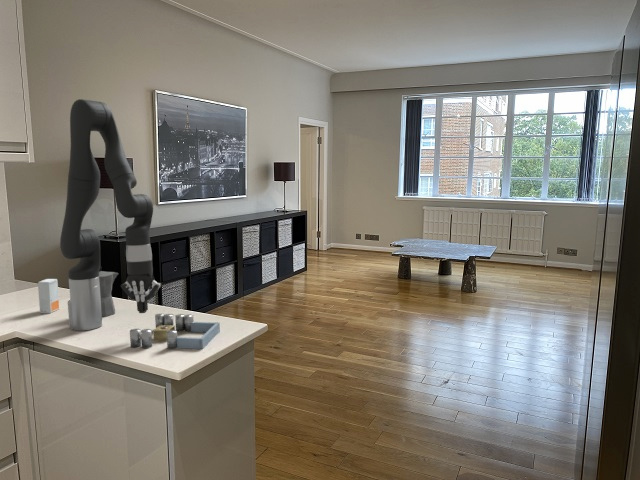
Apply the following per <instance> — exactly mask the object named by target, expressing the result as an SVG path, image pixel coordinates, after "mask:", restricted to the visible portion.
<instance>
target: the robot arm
mask: <svg viewBox="0 0 640 480" xmlns="http://www.w3.org/2000/svg"><path fill="white" fill-rule="evenodd" d="M69 126H70V127H69V132H70V152H69V153H70V154H69V167H68V175H67V176H68V177H67V189H66V190H67V191H66V192H67V193H66V202H65V203H66V204H65V212H64V218H63V221H62V222H63V223H62V226H61V228H62V229H61V234H60V239H59V240H60V241H59V247H60V253H61V254H62V256H63V257H64V258H66V259H68V260H75V259H80V260H79V262H78V263H77V264H75V266H73V267H71V268H70V269H69V270H68V273H67V274H68V275H67V276H68V287H69V289H68V290H69V297H70V299H69V300H67V311H68V313H67V315H68V327H69V329H71V330H75V331H88V330H89V331H90V330H95V329H98V328H100V327H102V326H103V317H102V312H101V297H100V282H99V270H100V267H101V240H100V237H99V235H98V233H97V232H96V231H95V230H94V229H92V228H84V229H82V225H83V221H84V218H85V216H86V214H87V213H88V211H89V210H90V209H91V207H92V206H93V205H94V203H95V201H96V199H97V198H98V196H99V193H100V186H101V171H100V169H99V166H98V162H97V161H96V159H95V157H94V155H93V152H92V149H91V133H92V132H98V134H99V135H100V136H101V138H102V140H103V143H104V148H105V152H104V161H103V163H104V169H105V171H106V174H107V175H108V177H109V181H110V183H111V185H112V186H113V192H114V199H115V205H116V208H117V210H118V212H119V213H120V215H121V216H123V217H124V218H127V219H133V222H132V224H131V225H129V226H127V227H126V228H125V233H124V234H125V243H126V245H125V247H126V248H125V257H126V273H127V277H126V281H125V282H124V283H122V284H120V288H121V289H122V290H123V291H124V293H125V294H126V295H127V296H128V297H129V299H130V300H131V301H136V310H137V312H138V313H139V314H145V313H147V312H148V310H149V306H148V305H149V304H148V301H149V300H151V299H153V298H154V297H155V296H156V294H157V293H158V291H159V289H160V288H161V287H162V283H161V282H157V281H156V280H155V277H154V267H153V253H152V247H151V246H152V245H151V235H150V230H151V225H152V220H153V215H154V204H153V200H152V199H151V198H150V197H149V195H147V194H145V193H144V194H143V193H137V194H133V192H132V189H135V187H136V186H137V178H136V176H135V174H134V171H133V169H132V167H131V166H130V164H129V160H128V159H127V157H126V154H125V151H124V148H123V147H124V146H123V143H122V140H121V137H120V133H119V130H118V127H117V122H116V120H115V115H114V114H113V111H112V109H111V108H110V106H109V105H108V104H106V103H105V102H101V101H96V100H91V99H83V98H81V99H76V100H75V101H74V102H73V103H72V106H71V109H70V113H69ZM151 288H152V289H151Z"/></svg>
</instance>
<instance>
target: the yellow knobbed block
mask: <svg viewBox="0 0 640 480" xmlns="http://www.w3.org/2000/svg"><path fill="white" fill-rule="evenodd" d="M169 330H176V324H175V325H159V326H158V327H157V328H156V327H155V328H154V329H153V331H152V333H153V341H155V342H157V341H158V342H159V341H160V342H162V341H163V342H165V341H166V342H167V331H169Z"/></svg>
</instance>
